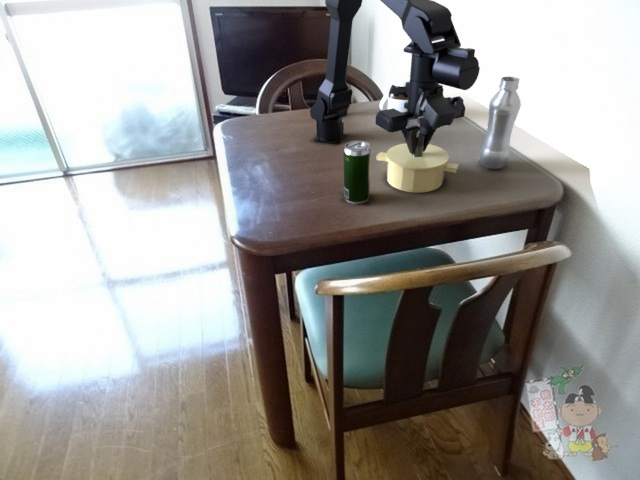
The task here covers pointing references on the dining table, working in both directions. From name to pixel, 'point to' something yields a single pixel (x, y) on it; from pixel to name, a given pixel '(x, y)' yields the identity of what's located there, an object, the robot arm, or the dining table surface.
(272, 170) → the dining table surface
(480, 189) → the dining table surface
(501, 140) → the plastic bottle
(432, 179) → the pot
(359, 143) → the beer can
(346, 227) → the dining table surface
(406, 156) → the pot lid
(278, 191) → the dining table surface
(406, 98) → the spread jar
